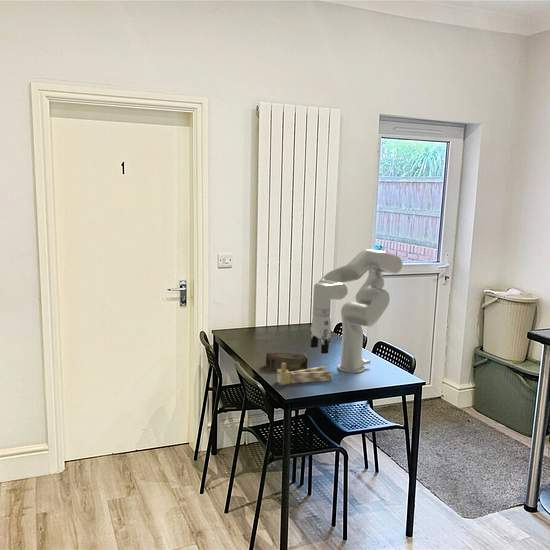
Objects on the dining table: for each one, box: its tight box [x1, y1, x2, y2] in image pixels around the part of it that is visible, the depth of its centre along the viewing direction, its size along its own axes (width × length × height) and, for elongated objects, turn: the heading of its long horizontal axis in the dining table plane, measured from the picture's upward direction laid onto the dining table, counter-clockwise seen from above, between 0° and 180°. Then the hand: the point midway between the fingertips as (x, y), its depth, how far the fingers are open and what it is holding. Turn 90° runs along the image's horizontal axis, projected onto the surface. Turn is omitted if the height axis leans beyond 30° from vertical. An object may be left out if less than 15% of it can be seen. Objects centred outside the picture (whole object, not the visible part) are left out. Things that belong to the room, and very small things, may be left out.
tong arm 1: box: [289, 365, 326, 383], centre depth 240 cm, size 18×1×4 cm, turn 121°
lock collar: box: [276, 362, 291, 386], centre depth 233 cm, size 4×5×9 cm
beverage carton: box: [265, 352, 309, 371], centre depth 255 cm, size 8×19×7 cm, turn 94°
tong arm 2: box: [290, 370, 333, 384], centre depth 236 cm, size 18×1×4 cm, turn 105°
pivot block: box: [277, 373, 282, 386], centre depth 233 cm, size 4×3×4 cm
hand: (319, 350), depth 238 cm, fingers open, 9 cm apart
